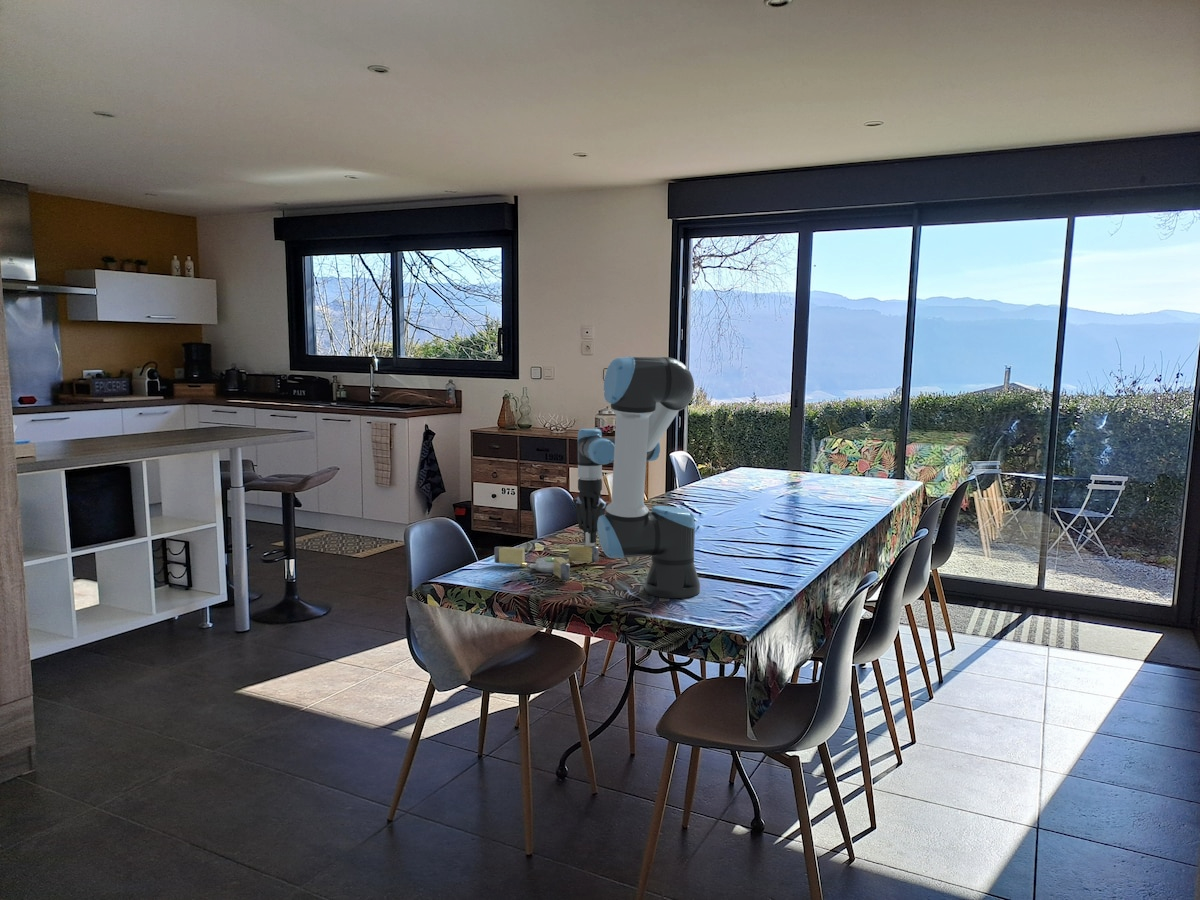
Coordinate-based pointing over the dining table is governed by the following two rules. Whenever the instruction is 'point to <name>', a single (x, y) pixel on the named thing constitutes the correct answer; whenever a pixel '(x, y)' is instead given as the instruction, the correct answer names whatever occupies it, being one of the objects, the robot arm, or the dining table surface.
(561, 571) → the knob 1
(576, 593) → the dining table surface
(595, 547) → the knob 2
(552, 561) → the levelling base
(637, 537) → the robot arm
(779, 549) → the dining table surface
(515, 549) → the yellow and grey block
